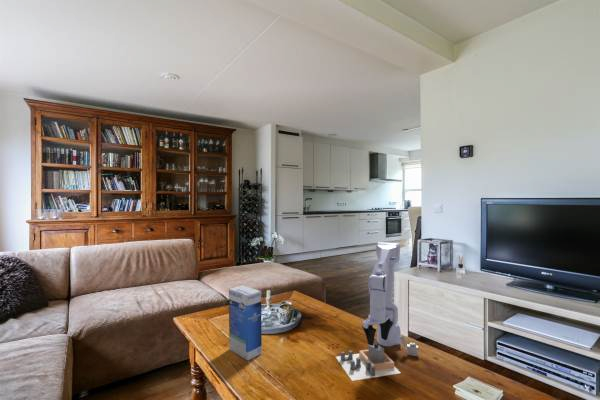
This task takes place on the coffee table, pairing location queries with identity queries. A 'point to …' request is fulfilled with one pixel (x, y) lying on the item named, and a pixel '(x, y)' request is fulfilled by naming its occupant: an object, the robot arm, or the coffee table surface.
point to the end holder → (378, 366)
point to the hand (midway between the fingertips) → (377, 341)
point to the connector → (376, 353)
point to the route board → (361, 367)
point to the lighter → (409, 347)
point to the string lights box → (245, 322)
